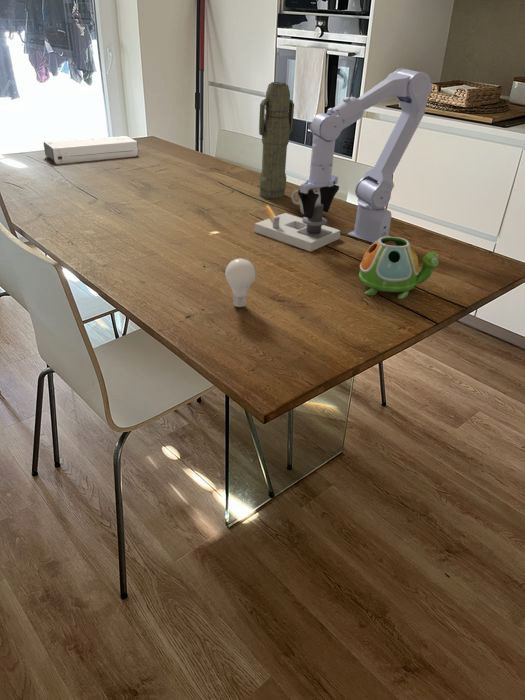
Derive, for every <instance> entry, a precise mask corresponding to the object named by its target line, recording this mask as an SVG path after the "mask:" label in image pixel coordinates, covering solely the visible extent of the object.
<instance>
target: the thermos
mask: <svg viewBox="0 0 525 700" xmlns="http://www.w3.org/2000/svg"><path fill="white" fill-rule="evenodd" d="M294 114H295V103H294V100H293V99H291V93H290V88H289V85H288V84H287V83H286V82H281V81H280V82H279V81H272V82H271V83H269V84H268V86H267V89H266V92H265V98H264V99H262V100H261V102H260V104H259V120H258V121H259V123H258V135H260V136H261V142H262V160H261V162H262V163H261V171H260V174H259V197H261V198H262V199H266V200H282V199H284V198H285V196H286V195H285V194H286V193H285V192H286V189H287V175H286V167H287V165H286V163H287V151H288V150H287V149H288V145H289V141H290V134H291V133H292V132H293V129H294V128H293V126H294Z"/></svg>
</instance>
